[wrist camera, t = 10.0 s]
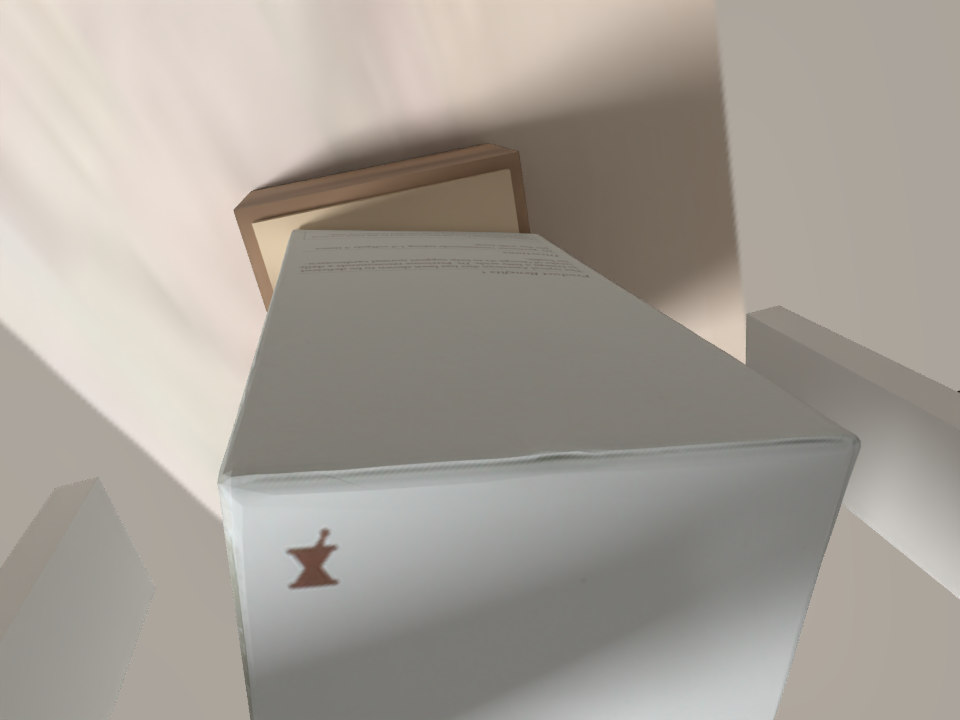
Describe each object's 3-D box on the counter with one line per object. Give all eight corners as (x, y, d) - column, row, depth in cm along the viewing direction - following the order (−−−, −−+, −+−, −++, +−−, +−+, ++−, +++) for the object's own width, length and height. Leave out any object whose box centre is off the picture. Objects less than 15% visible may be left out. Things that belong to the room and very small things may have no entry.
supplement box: (298, 461, 20) (250, 957, 8) (288, 222, 17) (196, 467, 6) (525, 450, 21) (747, 851, 10) (548, 230, 19) (889, 431, 7)
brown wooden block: (251, 191, 21) (231, 212, 17) (487, 143, 22) (521, 152, 18) (332, 449, 25) (332, 515, 21) (528, 399, 26) (563, 452, 22)
